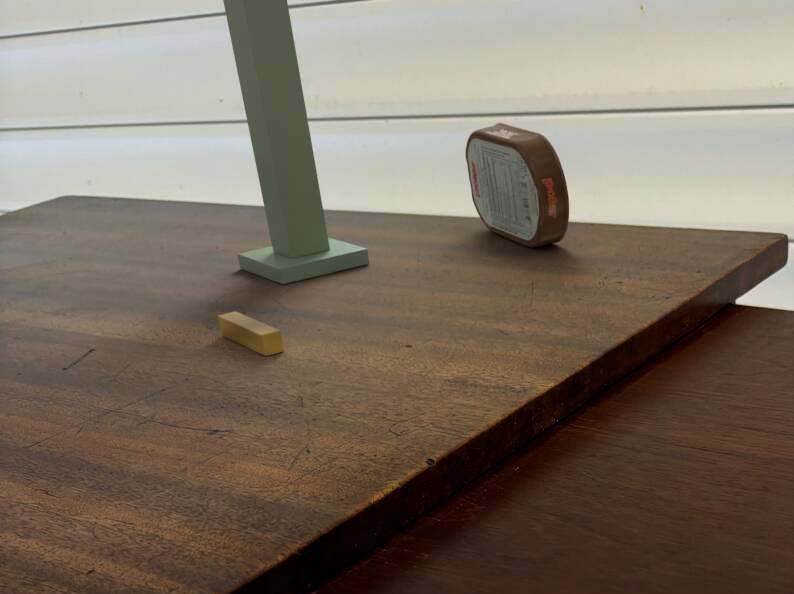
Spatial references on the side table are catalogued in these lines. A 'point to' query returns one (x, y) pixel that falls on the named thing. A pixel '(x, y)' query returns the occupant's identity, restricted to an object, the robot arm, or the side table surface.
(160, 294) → the side table surface
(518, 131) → the tin
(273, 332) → the fry
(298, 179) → the stand
